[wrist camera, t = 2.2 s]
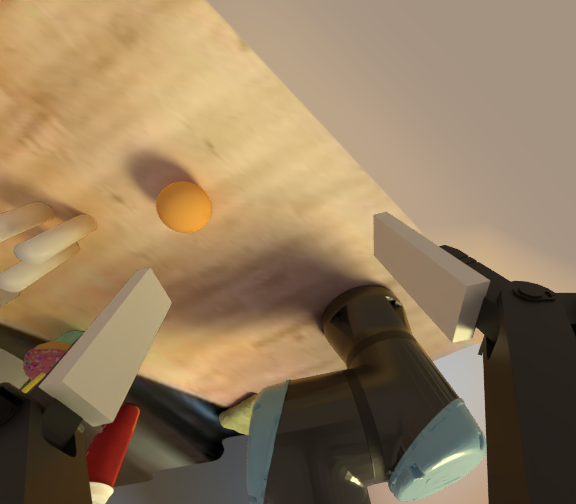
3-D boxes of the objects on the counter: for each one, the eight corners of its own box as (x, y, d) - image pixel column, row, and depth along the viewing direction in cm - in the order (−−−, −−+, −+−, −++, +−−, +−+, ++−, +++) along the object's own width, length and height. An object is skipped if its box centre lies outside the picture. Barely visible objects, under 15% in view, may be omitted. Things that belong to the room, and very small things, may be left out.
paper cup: (100, 402, 47) (44, 498, 35) (139, 398, 48) (98, 490, 36) (114, 421, 51) (68, 514, 39) (150, 417, 52) (116, 506, 39)
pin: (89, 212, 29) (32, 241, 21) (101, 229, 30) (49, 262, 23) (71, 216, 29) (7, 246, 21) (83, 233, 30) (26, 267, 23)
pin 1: (45, 200, 27) (-33, 226, 20) (58, 218, 29) (-11, 249, 21) (25, 204, 27) (-59, 231, 20) (40, 222, 29) (-36, 254, 21)
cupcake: (38, 328, 36) (-51, 409, 26) (90, 317, 36) (22, 393, 26) (72, 360, 41) (8, 441, 30) (119, 350, 41) (70, 427, 30)
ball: (206, 172, 28) (194, 182, 23) (221, 217, 31) (214, 235, 26) (158, 182, 28) (135, 194, 23) (179, 226, 31) (162, 246, 26)
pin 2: (71, 236, 30) (11, 271, 23) (83, 251, 31) (29, 289, 24) (54, 240, 30) (-13, 276, 23) (66, 255, 31) (6, 294, 24)
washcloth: (264, 433, 62) (264, 448, 59) (216, 411, 54) (214, 426, 52) (302, 413, 59) (304, 427, 57) (257, 387, 52) (257, 402, 49)
